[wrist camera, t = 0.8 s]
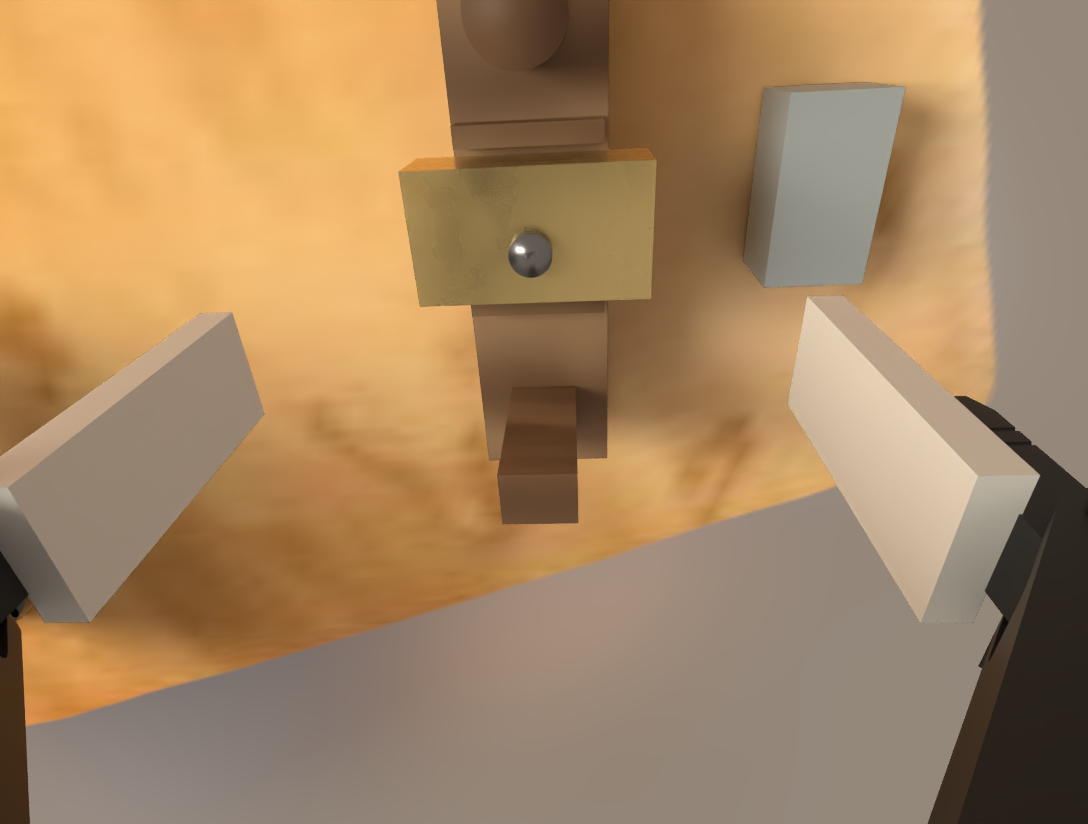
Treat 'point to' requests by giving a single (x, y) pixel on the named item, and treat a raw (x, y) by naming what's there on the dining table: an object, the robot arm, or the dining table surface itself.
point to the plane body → (552, 327)
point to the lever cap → (531, 226)
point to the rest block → (819, 181)
